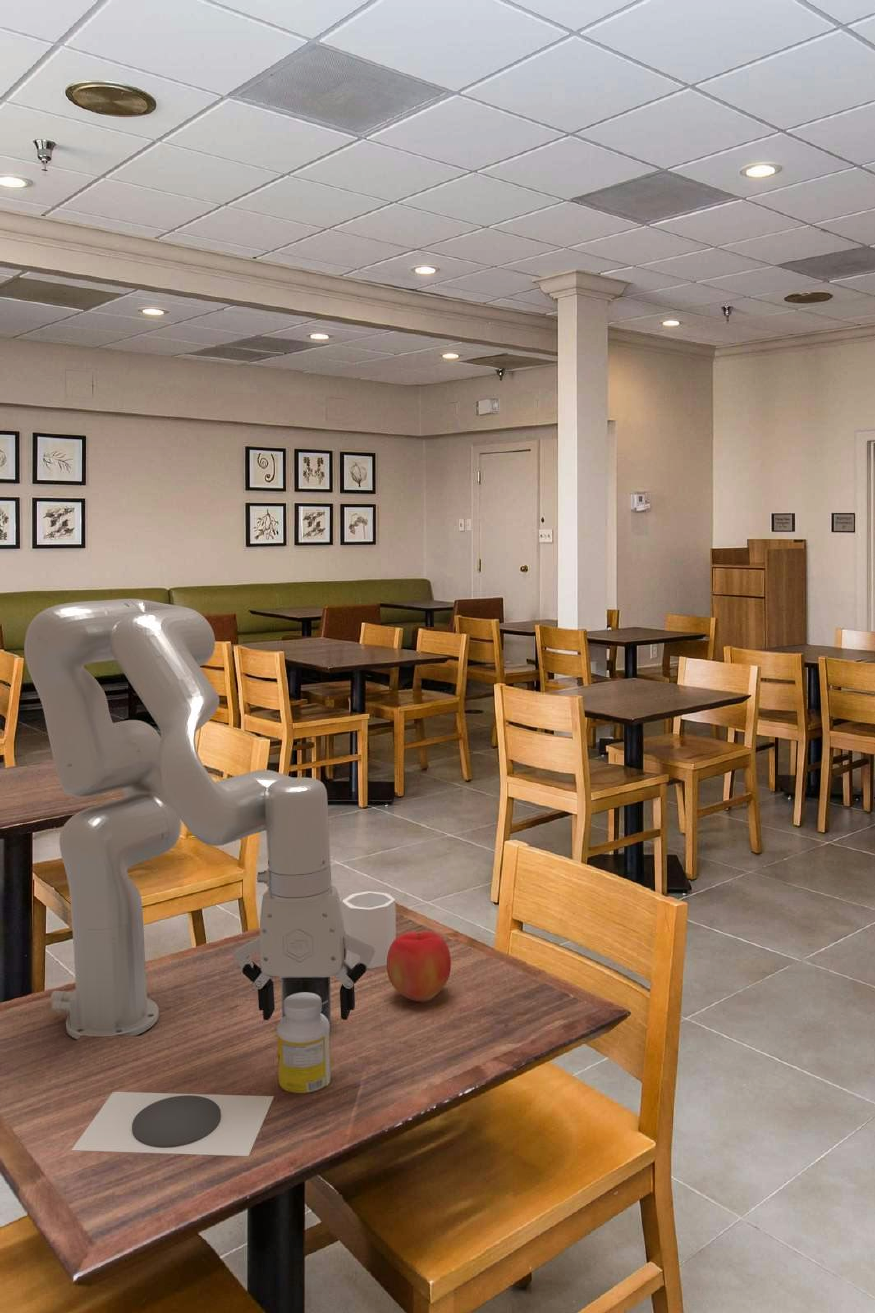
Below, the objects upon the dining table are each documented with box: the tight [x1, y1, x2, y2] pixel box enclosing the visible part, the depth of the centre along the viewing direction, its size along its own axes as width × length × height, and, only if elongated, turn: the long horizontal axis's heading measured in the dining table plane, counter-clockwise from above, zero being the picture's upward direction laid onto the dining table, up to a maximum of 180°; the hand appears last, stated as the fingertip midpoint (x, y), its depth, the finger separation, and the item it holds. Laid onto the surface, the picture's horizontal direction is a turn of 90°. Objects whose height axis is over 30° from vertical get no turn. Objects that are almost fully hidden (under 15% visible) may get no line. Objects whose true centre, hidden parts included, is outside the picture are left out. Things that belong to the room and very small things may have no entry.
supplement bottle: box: [280, 977, 332, 1026], centre depth 143 cm, size 7×7×12 cm
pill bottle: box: [276, 992, 332, 1095], centre depth 127 cm, size 6×6×12 cm
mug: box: [340, 890, 397, 970], centre depth 168 cm, size 12×9×10 cm
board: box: [71, 1091, 275, 1157], centre depth 119 cm, size 20×12×1 cm, turn 86°
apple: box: [386, 931, 452, 1003], centre depth 152 cm, size 10×10×10 cm
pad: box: [132, 1095, 221, 1148], centre depth 119 cm, size 10×10×1 cm
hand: (307, 1015), depth 126 cm, fingers open, 9 cm apart
